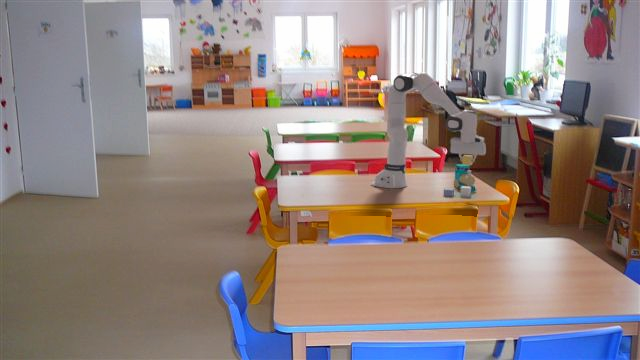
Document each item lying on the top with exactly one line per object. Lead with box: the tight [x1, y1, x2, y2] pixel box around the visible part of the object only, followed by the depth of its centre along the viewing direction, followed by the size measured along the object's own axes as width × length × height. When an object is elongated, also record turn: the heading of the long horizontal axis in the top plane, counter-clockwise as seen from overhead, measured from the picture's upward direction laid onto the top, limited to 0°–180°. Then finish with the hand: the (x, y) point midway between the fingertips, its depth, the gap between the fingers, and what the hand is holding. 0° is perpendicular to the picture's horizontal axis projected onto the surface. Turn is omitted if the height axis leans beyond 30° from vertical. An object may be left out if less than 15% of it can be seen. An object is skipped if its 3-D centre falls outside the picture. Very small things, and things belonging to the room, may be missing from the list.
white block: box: [460, 186, 472, 197], centre depth 390 cm, size 5×5×5 cm
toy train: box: [453, 163, 477, 192], centre depth 408 cm, size 8×17×15 cm, turn 15°
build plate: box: [452, 191, 479, 200], centre depth 391 cm, size 13×13×1 cm
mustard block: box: [461, 154, 474, 166], centre depth 386 cm, size 5×5×5 cm
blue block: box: [443, 187, 455, 197], centre depth 391 cm, size 5×5×5 cm
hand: (467, 161), depth 387 cm, fingers closed on mustard block, 5 cm apart
